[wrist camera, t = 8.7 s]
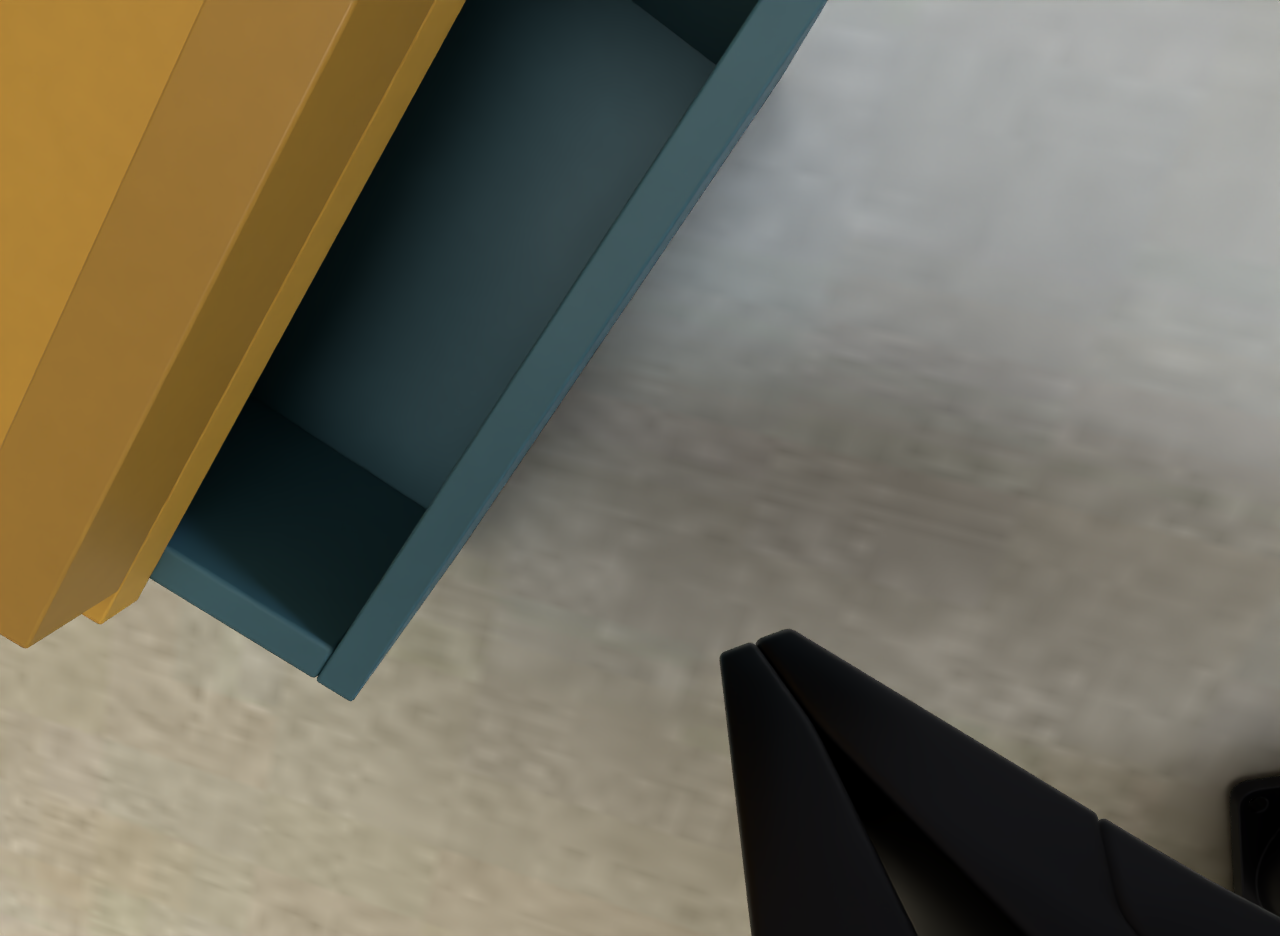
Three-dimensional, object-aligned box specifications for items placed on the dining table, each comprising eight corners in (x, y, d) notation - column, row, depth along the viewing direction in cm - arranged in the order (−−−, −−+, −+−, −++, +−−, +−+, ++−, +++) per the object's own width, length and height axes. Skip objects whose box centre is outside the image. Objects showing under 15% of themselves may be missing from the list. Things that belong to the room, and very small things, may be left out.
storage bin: (783, 74, 19) (842, -24, 11) (460, 550, 22) (350, 703, 15) (309, -291, 17) (29, -672, 10) (52, 285, 21) (-286, 315, 14)
